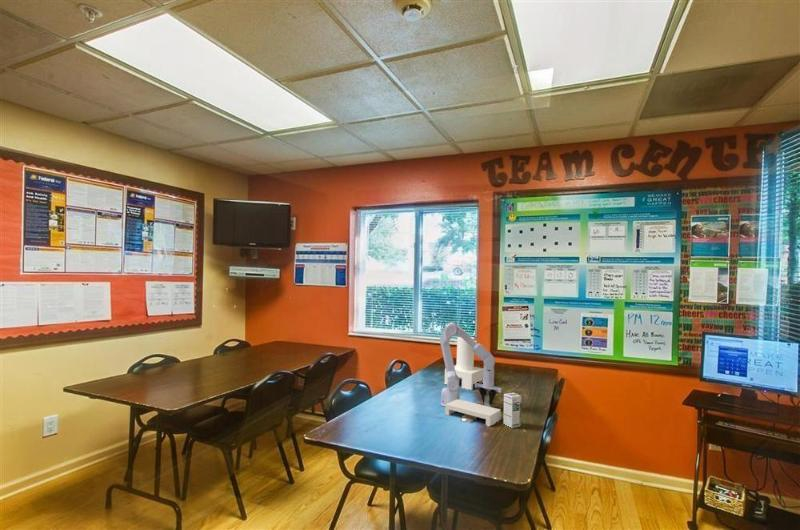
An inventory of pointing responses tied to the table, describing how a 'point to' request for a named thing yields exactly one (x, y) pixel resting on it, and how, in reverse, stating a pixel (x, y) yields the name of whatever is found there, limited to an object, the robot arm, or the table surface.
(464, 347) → the white column on base
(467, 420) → the steel disc
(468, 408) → the low shelf
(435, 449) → the table surface
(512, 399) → the syrup box
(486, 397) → the gray rectangular block
